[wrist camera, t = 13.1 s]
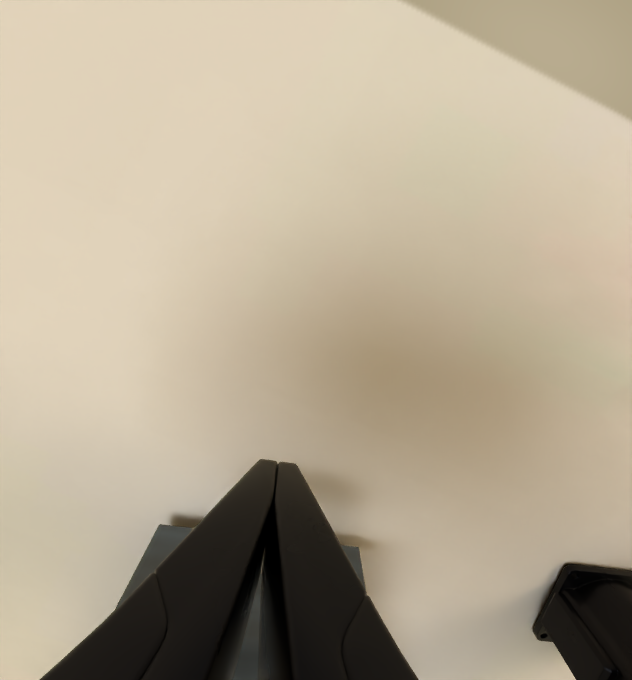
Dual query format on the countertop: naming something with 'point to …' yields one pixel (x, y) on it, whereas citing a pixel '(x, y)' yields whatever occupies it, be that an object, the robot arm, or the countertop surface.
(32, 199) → the countertop surface
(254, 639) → the drawer
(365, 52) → the countertop surface
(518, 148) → the countertop surface
